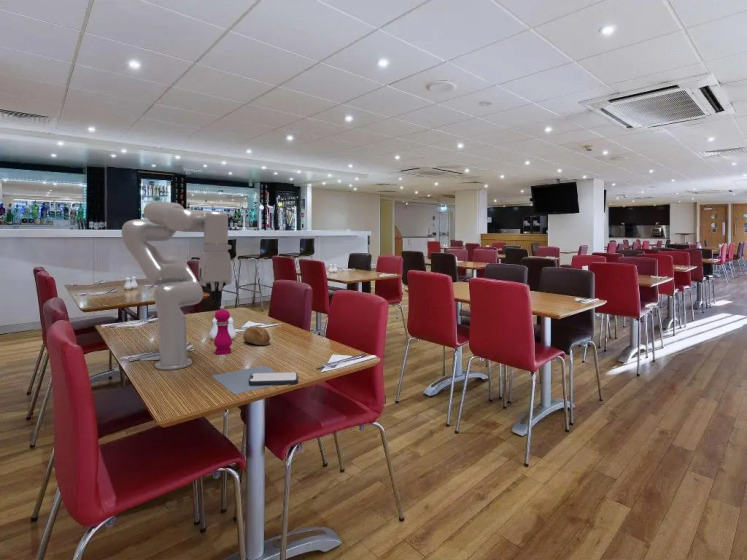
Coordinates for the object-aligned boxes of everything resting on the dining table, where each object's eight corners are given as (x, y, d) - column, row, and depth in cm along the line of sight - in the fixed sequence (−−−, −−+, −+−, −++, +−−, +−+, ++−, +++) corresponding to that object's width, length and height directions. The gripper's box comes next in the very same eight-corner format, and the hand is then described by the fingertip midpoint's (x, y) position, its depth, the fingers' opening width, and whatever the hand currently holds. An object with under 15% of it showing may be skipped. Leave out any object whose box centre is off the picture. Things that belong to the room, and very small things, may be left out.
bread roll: (258, 348, 186) (257, 330, 185) (237, 343, 195) (237, 326, 194) (275, 344, 193) (274, 327, 193) (254, 339, 202) (254, 323, 202)
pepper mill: (234, 353, 178) (233, 306, 176) (217, 355, 174) (215, 307, 172) (229, 349, 184) (228, 304, 182) (212, 352, 179) (210, 305, 177)
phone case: (297, 376, 150) (251, 377, 148) (297, 371, 150) (251, 372, 148) (297, 384, 142) (248, 386, 139) (297, 380, 142) (248, 381, 139)
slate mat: (211, 376, 149) (211, 375, 149) (264, 365, 162) (264, 365, 162) (234, 394, 132) (234, 394, 132) (291, 381, 145) (291, 381, 145)
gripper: (233, 247, 150) (232, 298, 153) (189, 247, 141) (189, 301, 143) (241, 249, 145) (240, 302, 147) (196, 249, 135) (196, 305, 138)
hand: (215, 301), depth 145 cm, fingers closed
